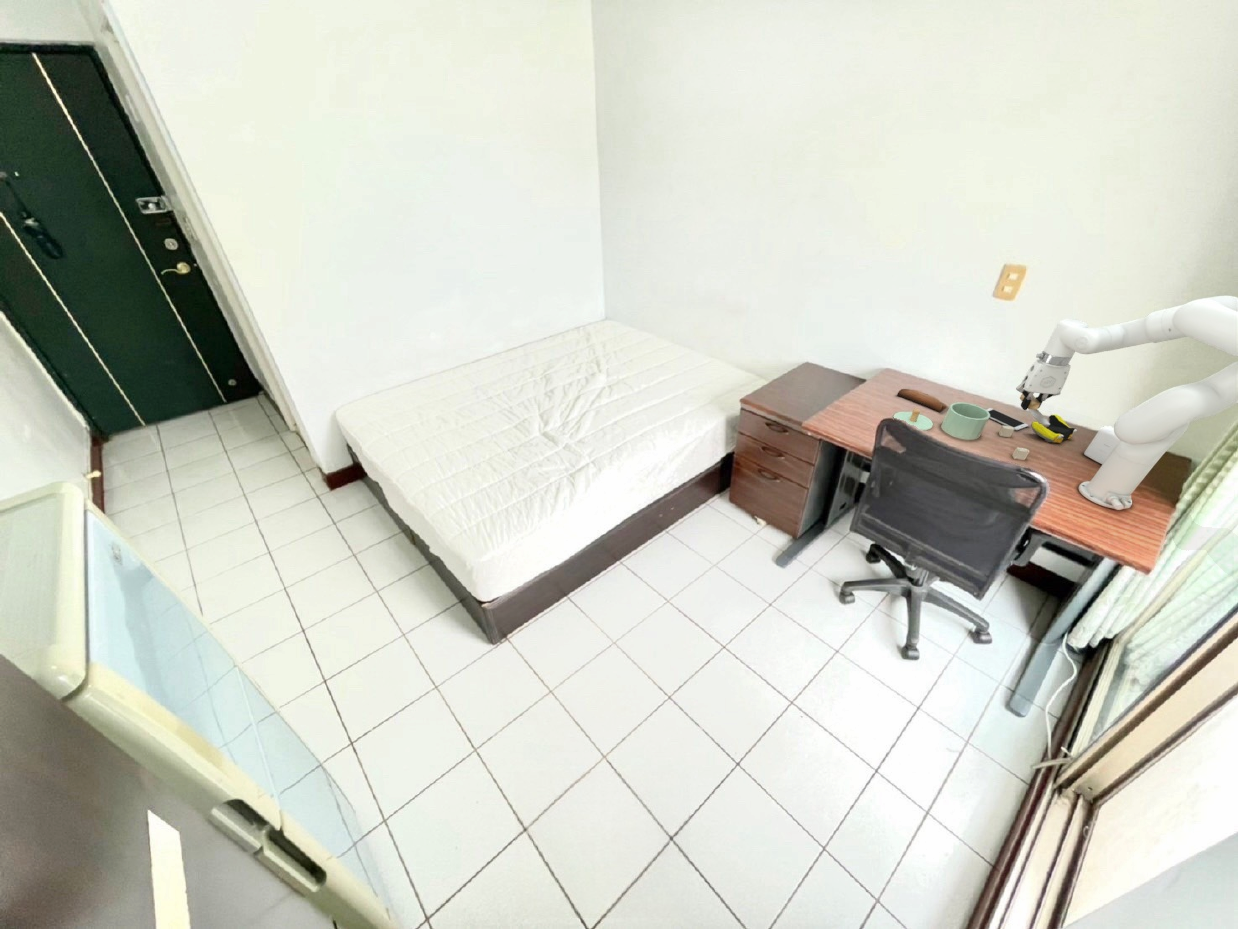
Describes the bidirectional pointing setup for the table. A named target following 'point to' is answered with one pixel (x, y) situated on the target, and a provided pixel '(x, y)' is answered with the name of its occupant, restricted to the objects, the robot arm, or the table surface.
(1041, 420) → the knife
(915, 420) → the lid
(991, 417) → the smartphone
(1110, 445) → the photo printer
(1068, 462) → the table surface
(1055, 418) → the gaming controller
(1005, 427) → the pair of cream blocks
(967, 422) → the pot
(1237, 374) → the robot arm
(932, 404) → the sunglasses case
